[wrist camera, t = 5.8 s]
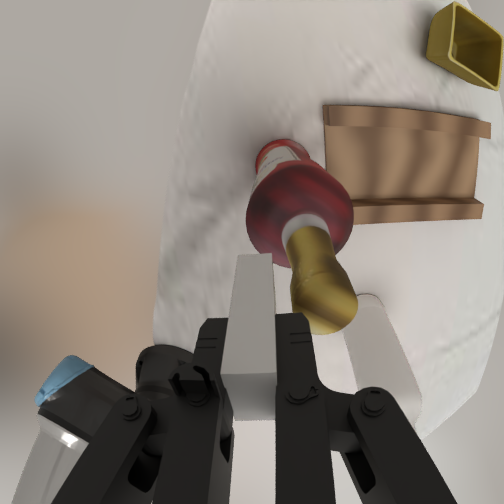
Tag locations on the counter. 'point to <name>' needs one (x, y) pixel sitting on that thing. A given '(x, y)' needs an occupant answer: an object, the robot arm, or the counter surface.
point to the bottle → (381, 356)
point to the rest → (404, 162)
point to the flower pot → (466, 46)
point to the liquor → (304, 232)
